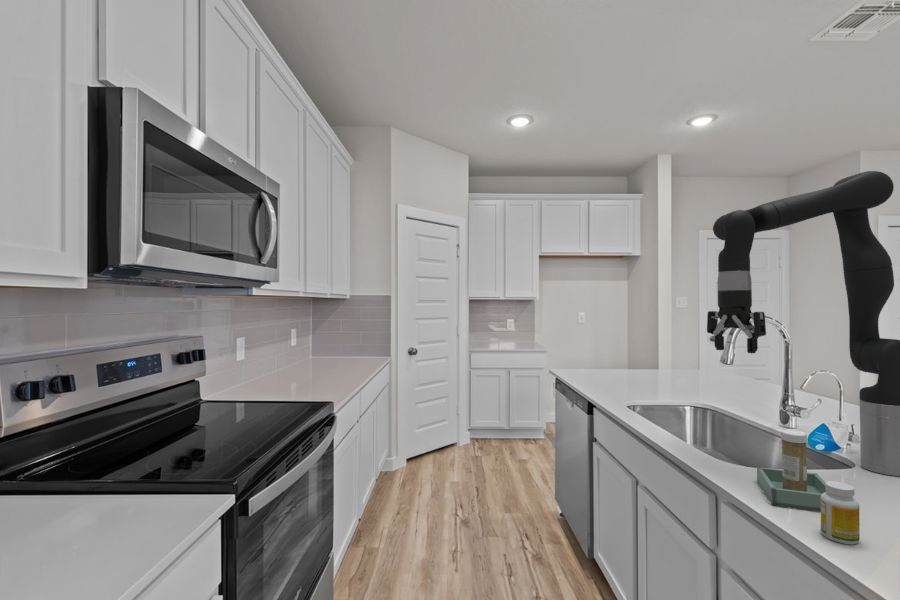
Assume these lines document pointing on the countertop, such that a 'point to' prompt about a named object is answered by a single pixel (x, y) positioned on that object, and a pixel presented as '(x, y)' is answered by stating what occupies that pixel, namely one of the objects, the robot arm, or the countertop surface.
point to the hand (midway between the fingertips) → (735, 351)
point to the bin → (781, 497)
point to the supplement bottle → (840, 513)
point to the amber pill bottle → (794, 460)
